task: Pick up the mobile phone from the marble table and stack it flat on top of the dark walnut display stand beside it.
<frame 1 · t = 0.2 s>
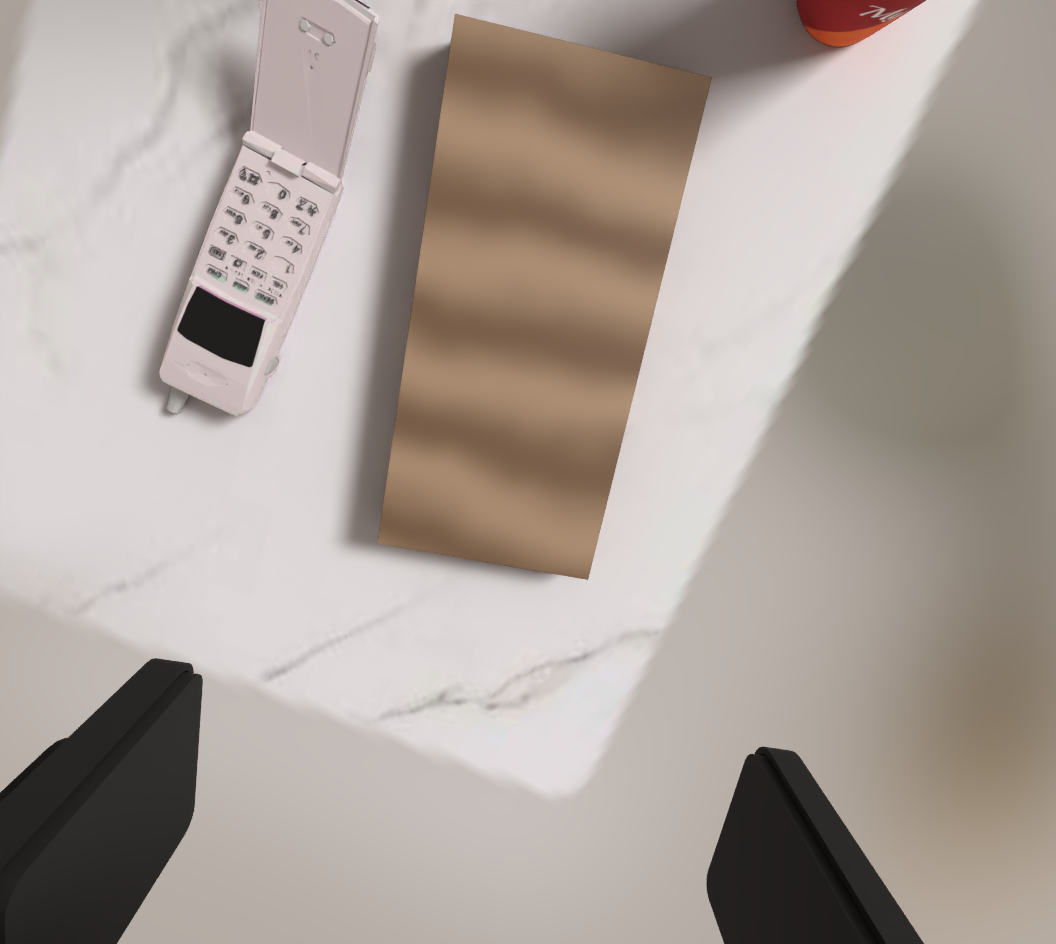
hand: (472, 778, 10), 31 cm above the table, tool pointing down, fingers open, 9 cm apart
walnut stand: (527, 330, 38), on the table
mobile phone: (278, 243, 37), on the table
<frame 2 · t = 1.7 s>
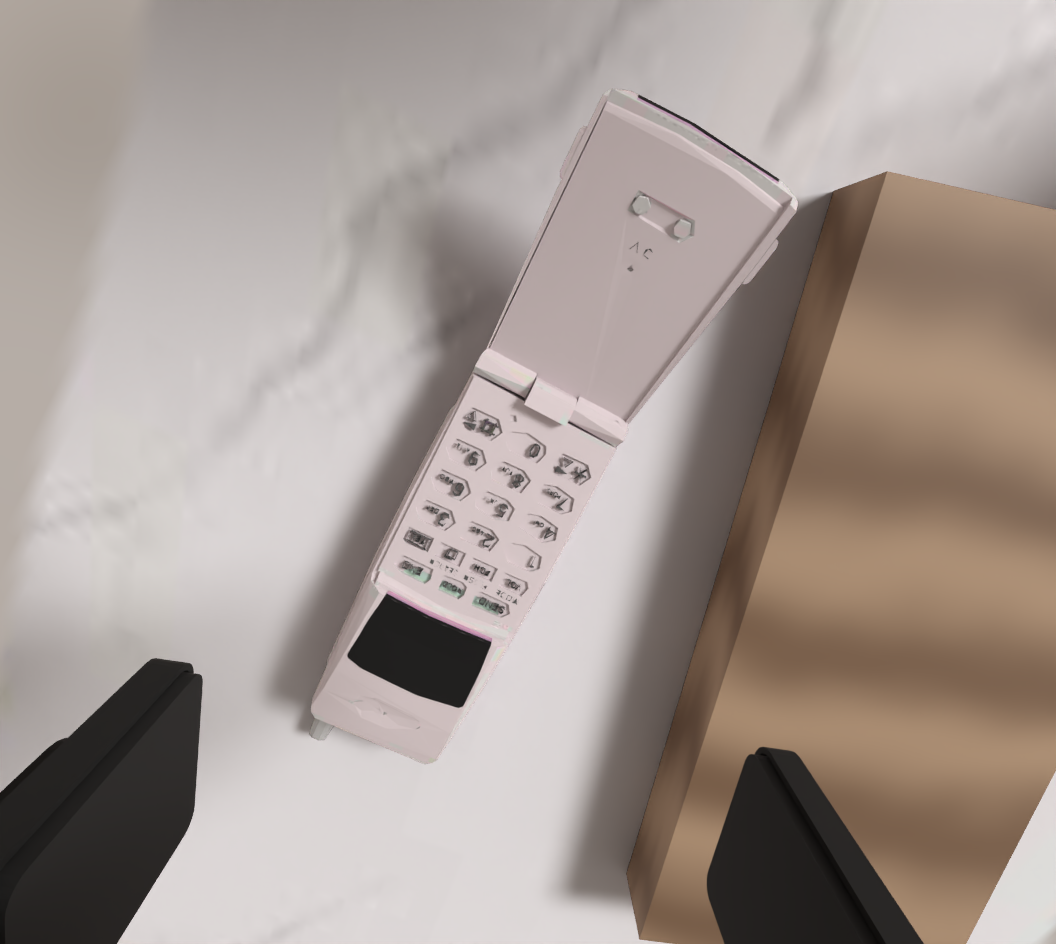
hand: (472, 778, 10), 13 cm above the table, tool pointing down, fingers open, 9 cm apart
walnut stand: (875, 615, 24), on the table
mobile phone: (493, 491, 23), on the table
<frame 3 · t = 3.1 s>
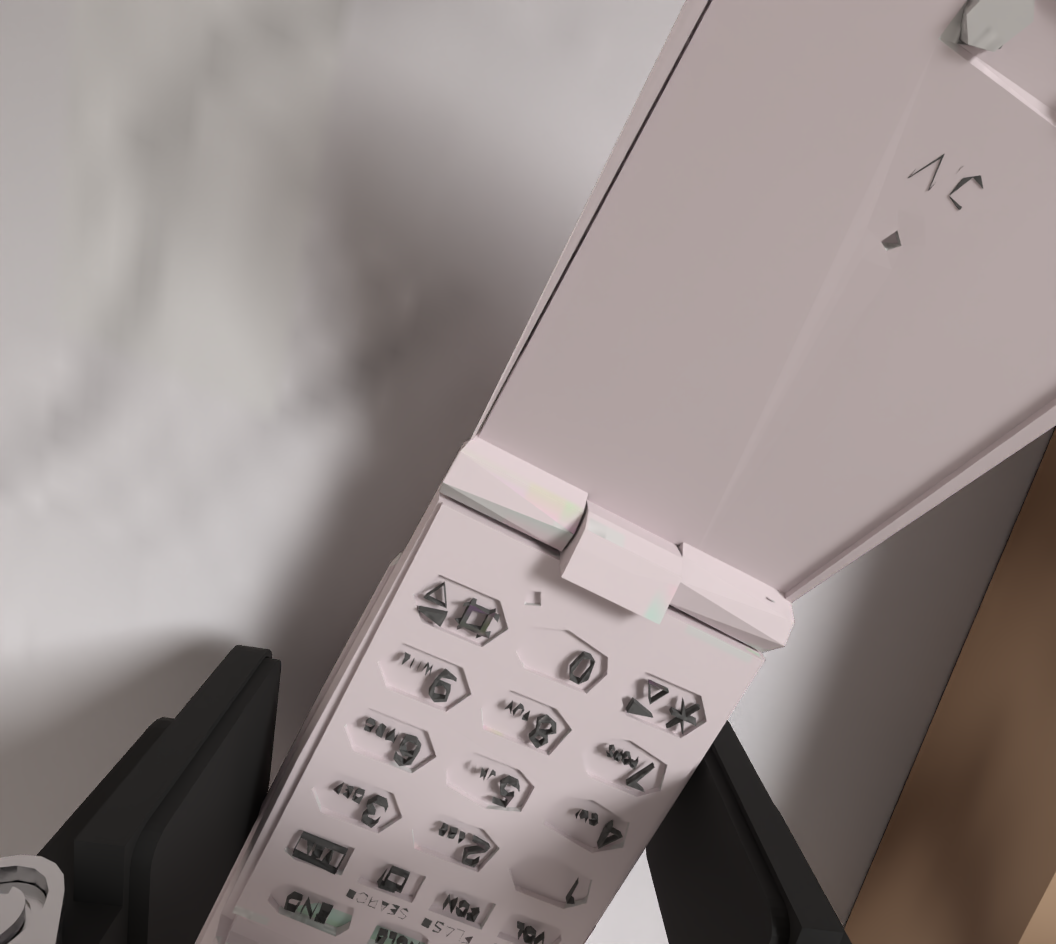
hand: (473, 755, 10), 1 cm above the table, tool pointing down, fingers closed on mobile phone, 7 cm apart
mobile phone: (487, 690, 12), on the table, touching gripper
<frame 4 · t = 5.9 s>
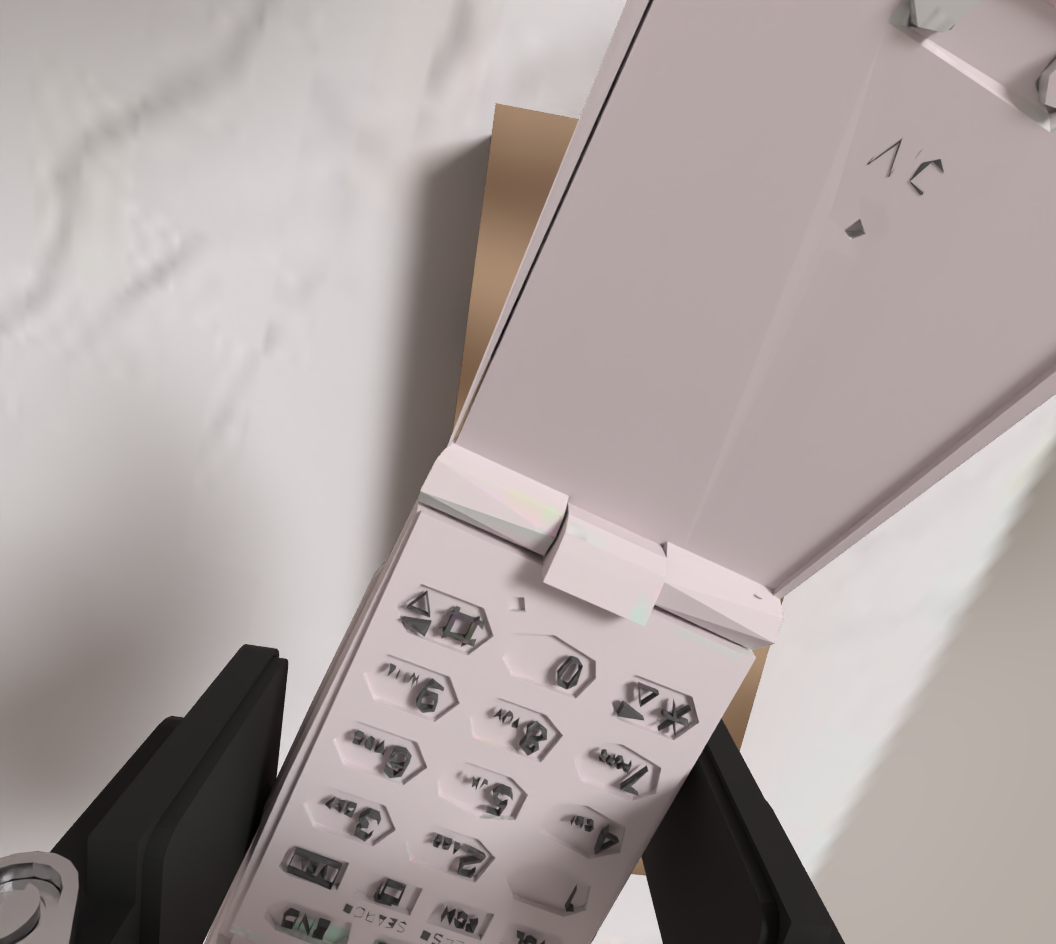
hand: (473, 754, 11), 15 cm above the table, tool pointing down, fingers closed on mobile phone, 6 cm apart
walnut stand: (604, 533, 26), on the table
mobile phone: (482, 697, 12), point 14 cm above the table, touching gripper
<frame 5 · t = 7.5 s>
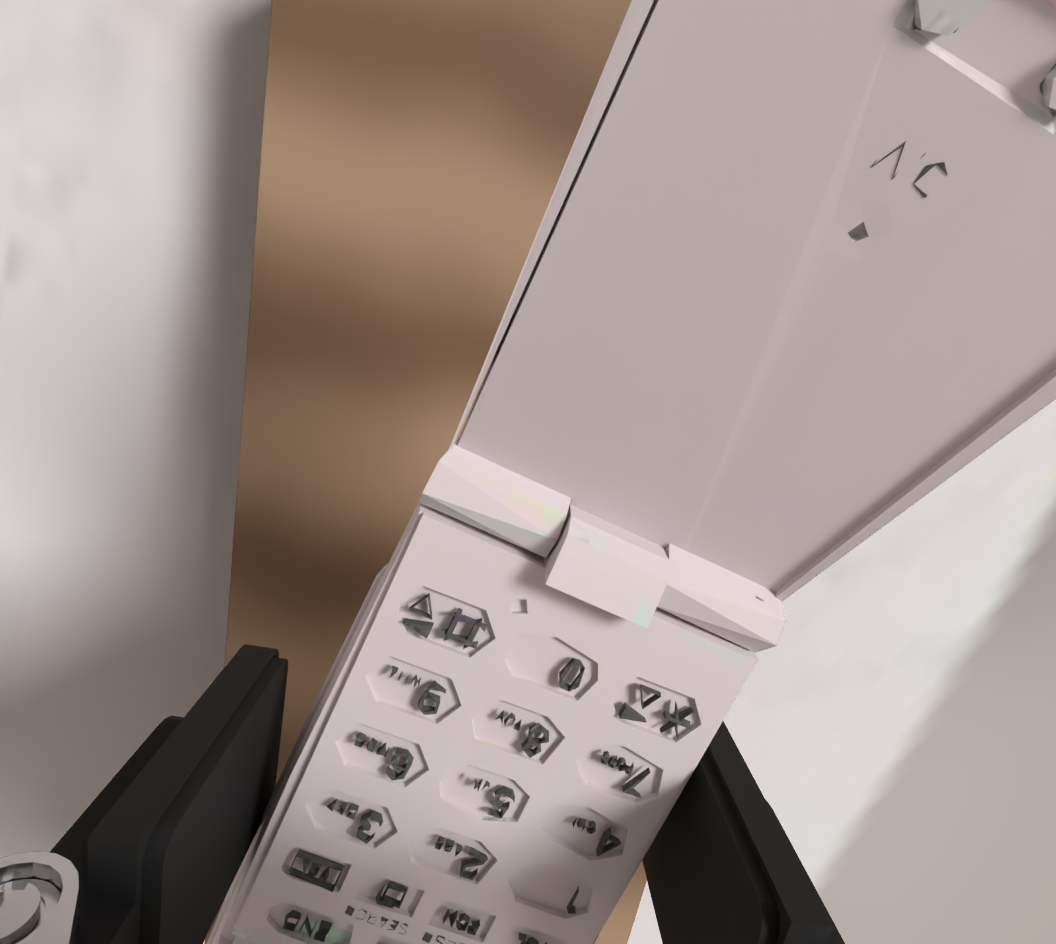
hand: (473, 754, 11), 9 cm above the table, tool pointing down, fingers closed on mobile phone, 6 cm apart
walnut stand: (490, 547, 19), on the table
mobile phone: (483, 699, 12), point 8 cm above the table, touching gripper
when the fingers open (5 cm above the table, at t = 8.8 s): mobile phone drops 1 cm, resting on walnut stand.
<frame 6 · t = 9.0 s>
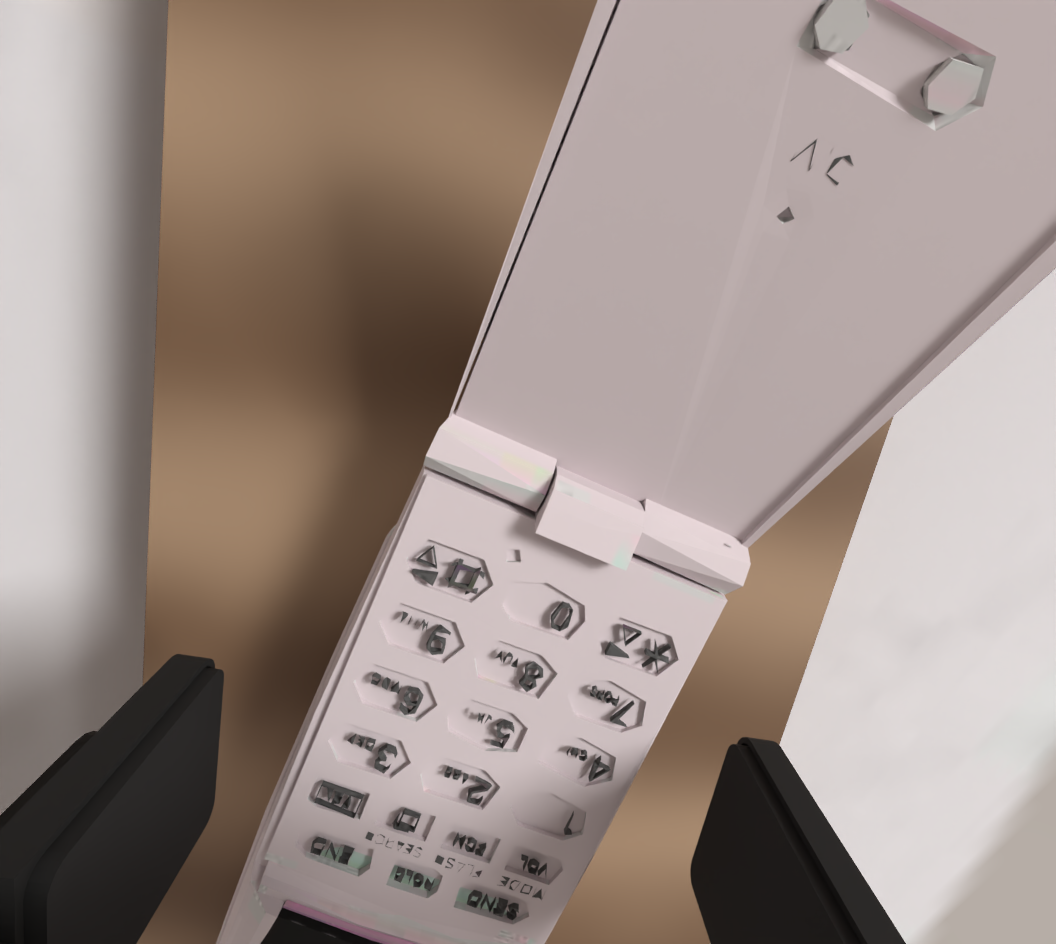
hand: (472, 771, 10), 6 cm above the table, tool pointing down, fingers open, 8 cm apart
walnut stand: (484, 611, 16), on the table
mobile phone: (486, 654, 13), point 3 cm above the table, touching walnut stand
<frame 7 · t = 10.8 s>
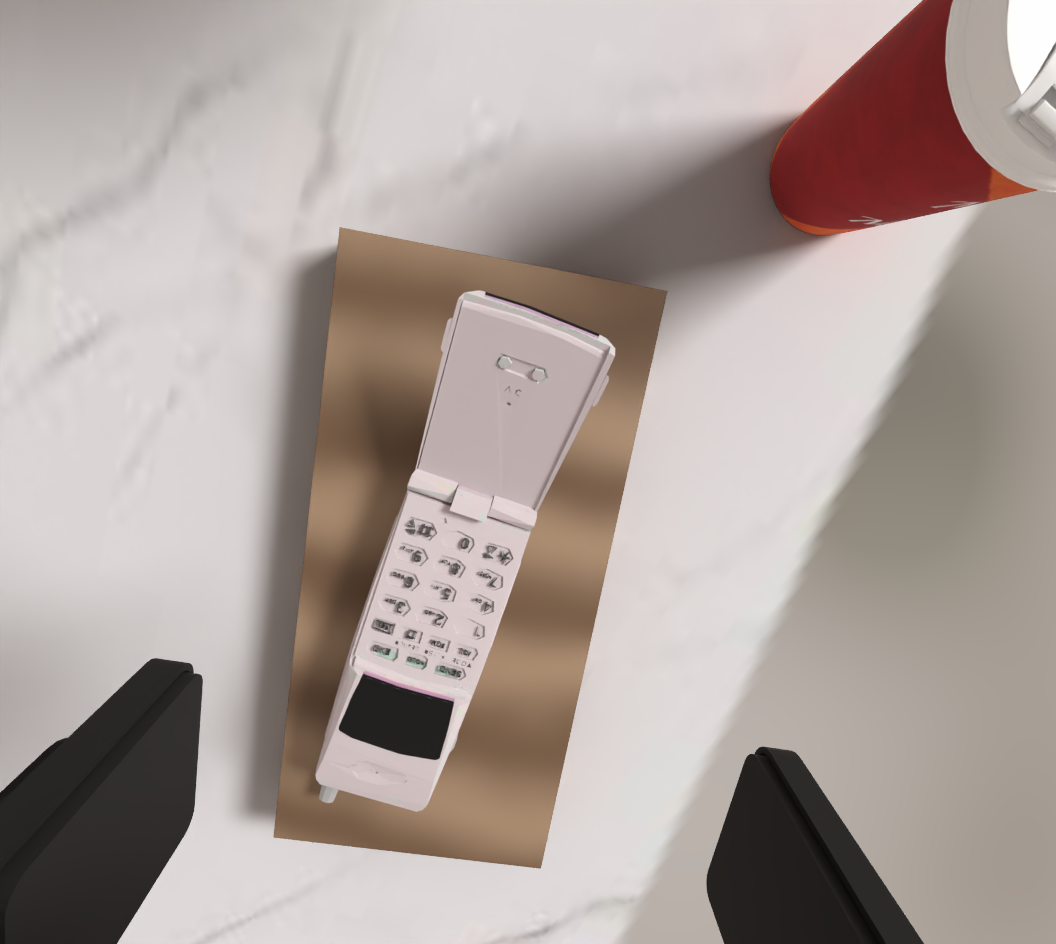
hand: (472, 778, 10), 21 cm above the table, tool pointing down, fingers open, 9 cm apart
paper cup: (826, 172, 28), on the table
walnut stand: (457, 565, 31), on the table
mobile phone: (444, 574, 28), point 3 cm above the table, touching walnut stand
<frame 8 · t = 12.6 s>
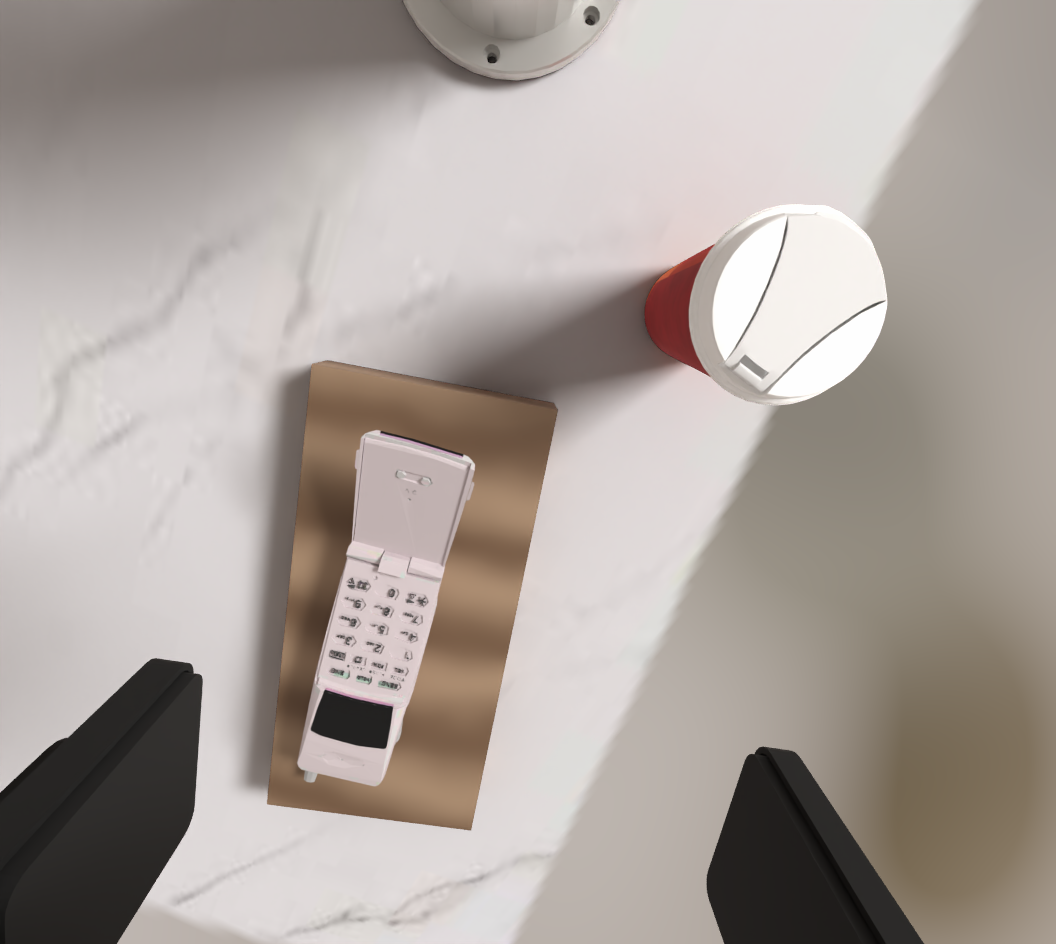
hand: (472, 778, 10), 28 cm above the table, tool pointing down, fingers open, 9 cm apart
paper cup: (689, 311, 36), on the table
walnut stand: (408, 601, 40), on the table
mobile phone: (385, 610, 37), point 3 cm above the table, touching walnut stand
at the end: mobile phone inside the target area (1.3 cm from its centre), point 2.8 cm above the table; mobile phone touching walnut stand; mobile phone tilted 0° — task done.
